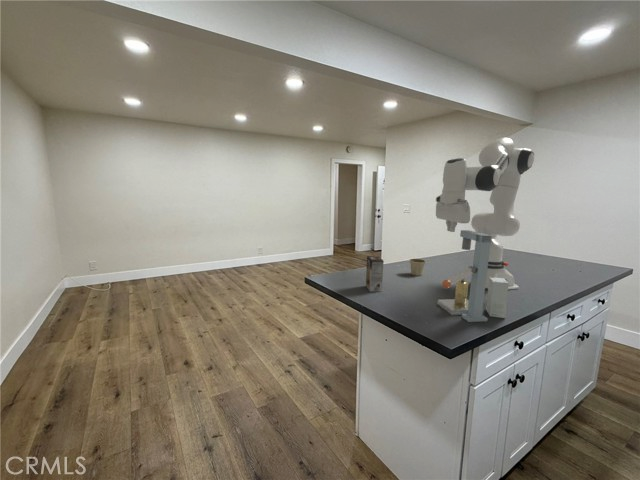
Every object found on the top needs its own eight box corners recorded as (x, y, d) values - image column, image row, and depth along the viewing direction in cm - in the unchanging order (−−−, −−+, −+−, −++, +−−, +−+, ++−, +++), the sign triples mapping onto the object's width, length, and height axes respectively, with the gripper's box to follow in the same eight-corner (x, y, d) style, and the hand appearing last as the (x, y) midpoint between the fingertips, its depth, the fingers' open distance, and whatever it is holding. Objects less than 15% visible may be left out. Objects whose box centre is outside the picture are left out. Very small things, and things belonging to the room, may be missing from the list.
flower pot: (425, 277, 175) (426, 262, 173) (409, 275, 177) (410, 261, 175) (423, 272, 184) (424, 259, 182) (407, 271, 186) (408, 258, 184)
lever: (473, 270, 117) (470, 263, 117) (478, 272, 114) (475, 265, 113) (442, 288, 117) (439, 281, 116) (446, 290, 114) (443, 283, 113)
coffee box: (365, 285, 157) (366, 255, 154) (377, 285, 158) (378, 255, 155) (369, 291, 148) (371, 260, 145) (382, 291, 149) (384, 260, 146)
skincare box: (505, 319, 120) (510, 283, 117) (488, 316, 122) (492, 281, 119) (500, 311, 127) (505, 277, 125) (484, 309, 129) (488, 276, 127)
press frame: (465, 306, 132) (473, 230, 126) (487, 321, 117) (498, 235, 111) (448, 307, 131) (455, 230, 125) (468, 321, 116) (478, 235, 110)
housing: (462, 302, 131) (464, 277, 129) (468, 306, 127) (471, 280, 125) (452, 302, 131) (454, 277, 129) (458, 306, 126) (460, 280, 124)
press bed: (466, 303, 136) (466, 298, 135) (483, 314, 124) (484, 309, 124) (437, 303, 134) (437, 299, 134) (452, 315, 122) (452, 310, 122)
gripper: (476, 199, 114) (473, 235, 117) (447, 197, 134) (445, 227, 137) (460, 200, 113) (458, 235, 116) (433, 197, 133) (432, 228, 136)
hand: (450, 231), depth 127 cm, fingers closed
